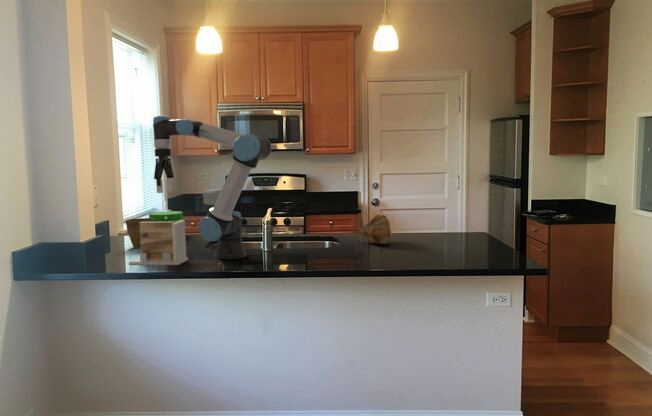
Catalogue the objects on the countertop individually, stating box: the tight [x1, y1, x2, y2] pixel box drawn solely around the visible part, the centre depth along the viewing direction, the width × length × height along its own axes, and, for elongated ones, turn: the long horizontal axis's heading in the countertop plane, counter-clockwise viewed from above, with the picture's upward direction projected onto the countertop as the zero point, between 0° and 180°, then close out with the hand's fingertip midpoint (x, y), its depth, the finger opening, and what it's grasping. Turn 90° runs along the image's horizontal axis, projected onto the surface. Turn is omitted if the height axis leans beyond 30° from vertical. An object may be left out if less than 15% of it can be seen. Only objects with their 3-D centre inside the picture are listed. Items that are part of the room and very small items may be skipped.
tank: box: [148, 210, 184, 223], centre depth 320 cm, size 24×35×16 cm
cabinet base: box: [128, 219, 189, 266], centre depth 253 cm, size 12×24×19 cm, turn 83°
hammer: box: [202, 188, 222, 208], centre depth 317 cm, size 15×8×30 cm, turn 172°
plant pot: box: [125, 217, 154, 249], centre depth 293 cm, size 15×15×16 cm
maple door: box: [140, 222, 175, 260], centre depth 252 cm, size 4×16×18 cm, turn 83°
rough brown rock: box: [359, 214, 392, 245], centre depth 301 cm, size 23×17×15 cm
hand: (164, 192), depth 261 cm, fingers open, 13 cm apart
